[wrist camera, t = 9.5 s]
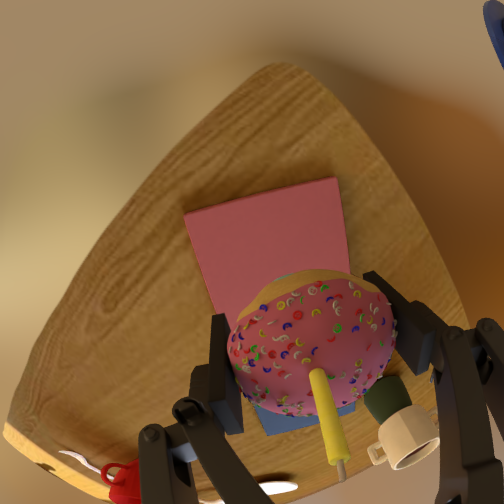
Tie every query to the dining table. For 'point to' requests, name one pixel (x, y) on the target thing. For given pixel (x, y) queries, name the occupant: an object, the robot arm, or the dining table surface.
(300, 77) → the dining table surface
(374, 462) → the character mug
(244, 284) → the rose mat
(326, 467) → the dining table surface
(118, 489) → the ceramic cup
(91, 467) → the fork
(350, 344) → the cupcake
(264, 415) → the blue mat
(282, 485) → the spoon
